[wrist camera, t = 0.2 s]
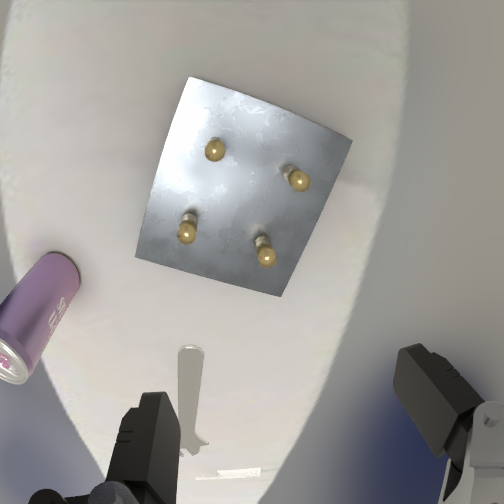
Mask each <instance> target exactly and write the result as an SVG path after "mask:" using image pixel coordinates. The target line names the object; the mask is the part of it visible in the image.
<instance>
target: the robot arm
mask: <svg viewBox="0 0 504 504" xmlns="http://www.w3.org/2000/svg"><path fill="white" fill-rule="evenodd" d="M393 384H394V385H393V386H394V391H395V394H396V395H397V397H398V399H399V400H400V401H401V403H402V405H403V407H404V408H405V410H406V411H407V413H408V414H409V416H410V417H411V419H412V420H413V422H414V424H415V425H416V427H417V428H418V430H419V432H420V433H421V435H422V436H423V438H424V440H425V441H426V443H427V444H428V446H429V448H430V449H431V451H432V453H433V454H434V456H435V458H438V457H440V456H442V455H444V454H446V453H447V454H448V456H449V457H450V458H449V460H448V463H447V467H446V472H445V477H444V482H443V486H442V490H441V494H440V498H439V502H438V504H504V405H502V404H501V403H499V402H494V401H489V402H485V401H484V400H483V399H482V398H481V397H480V396H479V394H478V393H477V392H476V391H475V390H474V389H473V388H472V387H471V386H470V384H469V383H468V382H467V381H466V380H465V379H464V378H463V377H462V376H460V373H459V372H458V371H457V370H456V369H454V367H453V366H452V365H451V364H450V363H449V362H448V361H447V359H446V358H444V357H442V356H440V355H438V354H436V353H434V352H433V353H430V352H429V351H428V350H427V349H426V348H425V347H424V346H423V345H422V344H420V343H417V344H414V345H411V346H408V347H405V348H402V349H400V350H399V353H398V358H397V364H396V370H395V375H394V380H393ZM180 441H181V429H180V424H179V421H178V418H177V416H176V414H175V411H174V409H173V407H172V404H171V402H170V400H169V397H168V395H167V393H166V392H147V393H143V394H142V396H141V400H140V404H139V408H130V409H129V411H128V412H127V413H126V414H125V416H124V417H123V418H122V421H121V425H120V428H119V433H118V435H117V439H116V443H115V446H114V450H113V454H112V457H111V461H110V465H109V469H108V473H107V477H106V480H105V482H103V483H100V484H99V485H97V486H96V487H94V489H92V491H91V492H90V494H88V495H83V496H75V497H66V498H63V497H62V496H61V495H60V494H59V493H57V492H56V491H54V490H51V489H42V490H39V491H37V492H36V493H34V494H33V495H32V497H31V498H30V501H29V503H28V504H176V493H177V478H178V465H179V452H180Z"/></svg>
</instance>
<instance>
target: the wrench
mask: <svg viewBox="0 0 504 504" xmlns="http://www.w3.org/2000/svg"><path fill="white" fill-rule="evenodd" d="M203 359H204V352H203V351H202V349H201V348H200V347H198V346H196V345H190V344H188V345H184V346H182V347H181V348H180V349H179V350H178V415H179V424H180V429H181V441H180V448H186V449H187V450H188V451H189V452H190V453H191V455H192V456H193V455H196V454H197V453H198V452H199V447H200V446H204V445H209V442H207V441H205V440H203V439H202V438H201V437H199V436H198V435H197V433H196V432H195V421H196V413H197V406H198V399H199V390H200V382H201V374H202V367H203ZM179 456H183V454H182V453H181V452H179Z"/></svg>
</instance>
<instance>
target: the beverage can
mask: <svg viewBox="0 0 504 504" xmlns="http://www.w3.org/2000/svg"><path fill="white" fill-rule="evenodd" d="M79 284H80V281H79V275H78V272H77V269H76V267H75V266H74V264H73V263H72V262H71V261H70V260H69V259H68V258H66V257H65V256H63V255H60V254H56V253H49V254H46V255H44V256H42V257H41V258H40V259H39V260H38V262H37V263H36V264H35V265H34V266H33V267H32V268H31V269H30V270H29V271H28V273H27V274H26V275H25V276H24V277H23V278H22V279H21V281H20V282H19V283H18V284H17V285H16V286H15V288H14V289H13V290H12V291H11V292H10V294H9V295H8V296H7V297H6V299H5V300H4V301H3V302H2V303H1V304H0V378H1V379H3V380H5V381H7V382H9V383H12V384H23V383H25V382H26V380H27V378H28V377H29V376H30V375H31V374H32V373H33V371H34V368H35V367H36V365H37V363H38V361H39V359H40V357H41V355H42V353H43V351H44V349H45V347H46V345H47V343H48V342H49V340H50V338H51V336H52V334H53V332H54V331H55V329H56V327H57V325H58V323H59V322H60V320H61V318H62V316H63V315H64V313H65V311H66V309H67V308H68V306H69V304H70V303H71V301H72V299H73V298H74V296H75V294H76V293H77V291H78V289H79Z"/></svg>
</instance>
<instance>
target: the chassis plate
mask: <svg viewBox="0 0 504 504" xmlns="http://www.w3.org/2000/svg"><path fill="white" fill-rule="evenodd" d="M351 144H352V140H350V139H348V138H346V137H344V136H342V135H340V134H338V133H336V132H334V131H332V130H330V129H328V128H326V127H323V126H321V125H319V124H317V123H315V122H312V121H310V120H308V119H306V118H303V117H301V116H299V115H296V114H294V113H292V112H289V111H287V110H284V109H282V108H279V107H277V106H274V105H272V104H269V103H267V102H264V101H262V100H259V99H256V98H253V97H251V96H248V95H245V94H242V93H240V92H237V91H234V90H231V89H228V88H225V87H222V86H219V85H216V84H212V83H209V82H206V81H203V80H199V79H196V78H192V77H189V78H188V81H187V84H186V86H185V89H184V91H183V94H182V97H181V99H180V102H179V105H178V108H177V110H176V113H175V116H174V119H173V122H172V125H171V128H170V131H169V134H168V137H167V140H166V143H165V146H164V149H163V152H162V155H161V159H160V162H159V165H158V169H157V172H156V175H155V179H154V182H153V186H152V190H151V193H150V197H149V201H148V204H147V208H146V212H145V216H144V220H143V224H142V228H141V232H140V237H139V241H138V245H137V250H136V254H135V257H137V258H140V259H143V260H147V261H150V262H153V263H157V264H160V265H164V266H167V267H171V268H174V269H178V270H181V271H185V272H188V273H192V274H196V275H199V276H203V277H206V278H210V279H214V280H217V281H221V282H225V283H228V284H232V285H236V286H240V287H243V288H247V289H251V290H255V291H259V292H263V293H267V294H270V295H274V296H278V297H281V296H282V294H283V292H284V290H285V288H286V286H287V283H288V281H289V279H290V277H291V275H292V273H293V271H294V269H295V267H296V265H297V263H298V261H299V259H300V257H301V255H302V253H303V250H304V248H305V246H306V244H307V242H308V240H309V238H310V236H311V233H312V231H313V229H314V227H315V225H316V223H317V221H318V218H319V216H320V214H321V212H322V210H323V207H324V205H325V203H326V201H327V199H328V196H329V194H330V192H331V190H332V187H333V185H334V183H335V181H336V178H337V176H338V174H339V172H340V169H341V167H342V165H343V162H344V160H345V158H346V156H347V153H348V151H349V149H350V146H351Z"/></svg>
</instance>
